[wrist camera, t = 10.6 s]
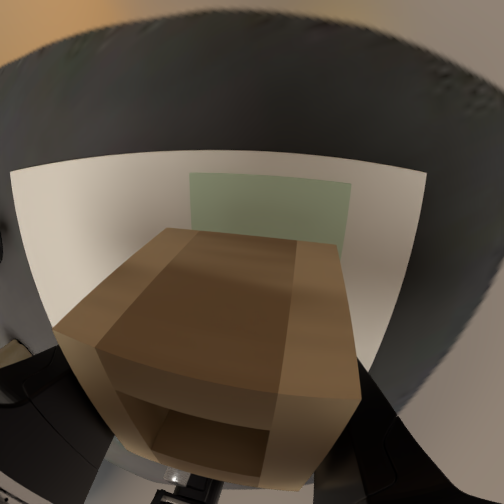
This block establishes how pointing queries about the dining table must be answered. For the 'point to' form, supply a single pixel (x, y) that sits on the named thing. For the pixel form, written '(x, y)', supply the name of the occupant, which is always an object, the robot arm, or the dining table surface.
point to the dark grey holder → (1, 249)
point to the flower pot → (13, 353)
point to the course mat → (220, 218)
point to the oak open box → (221, 355)
